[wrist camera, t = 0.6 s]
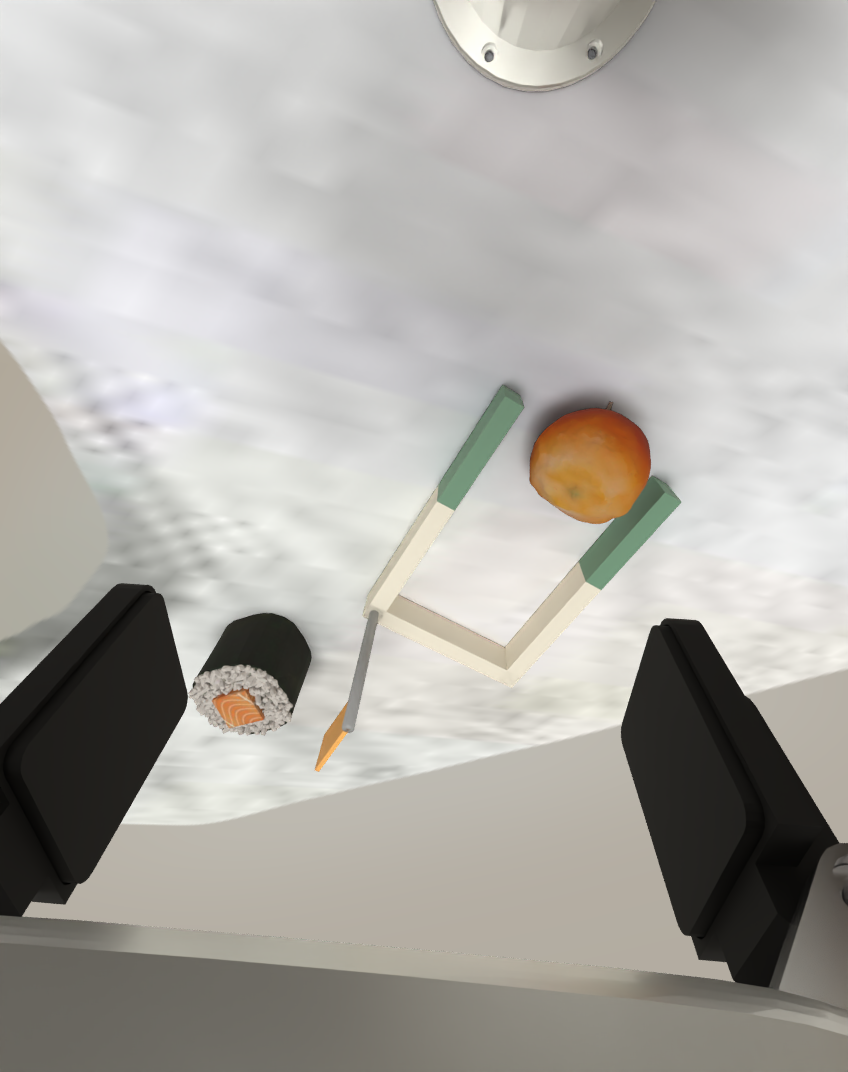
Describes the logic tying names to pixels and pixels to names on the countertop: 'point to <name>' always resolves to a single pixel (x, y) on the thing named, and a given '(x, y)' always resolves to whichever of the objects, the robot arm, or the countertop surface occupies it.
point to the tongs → (548, 618)
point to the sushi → (253, 675)
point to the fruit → (591, 464)
